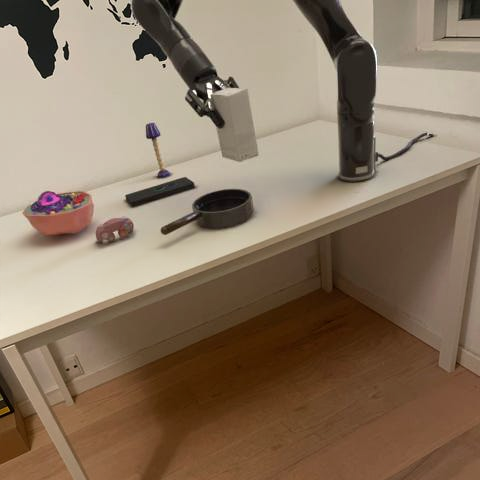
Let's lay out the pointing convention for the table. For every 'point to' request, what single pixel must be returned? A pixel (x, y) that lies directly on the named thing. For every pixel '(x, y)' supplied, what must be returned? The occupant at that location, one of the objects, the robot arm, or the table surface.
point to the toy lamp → (156, 147)
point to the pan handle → (180, 222)
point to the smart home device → (159, 191)
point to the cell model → (60, 212)
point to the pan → (223, 208)
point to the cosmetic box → (235, 124)
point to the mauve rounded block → (114, 229)
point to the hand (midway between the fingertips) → (233, 121)
